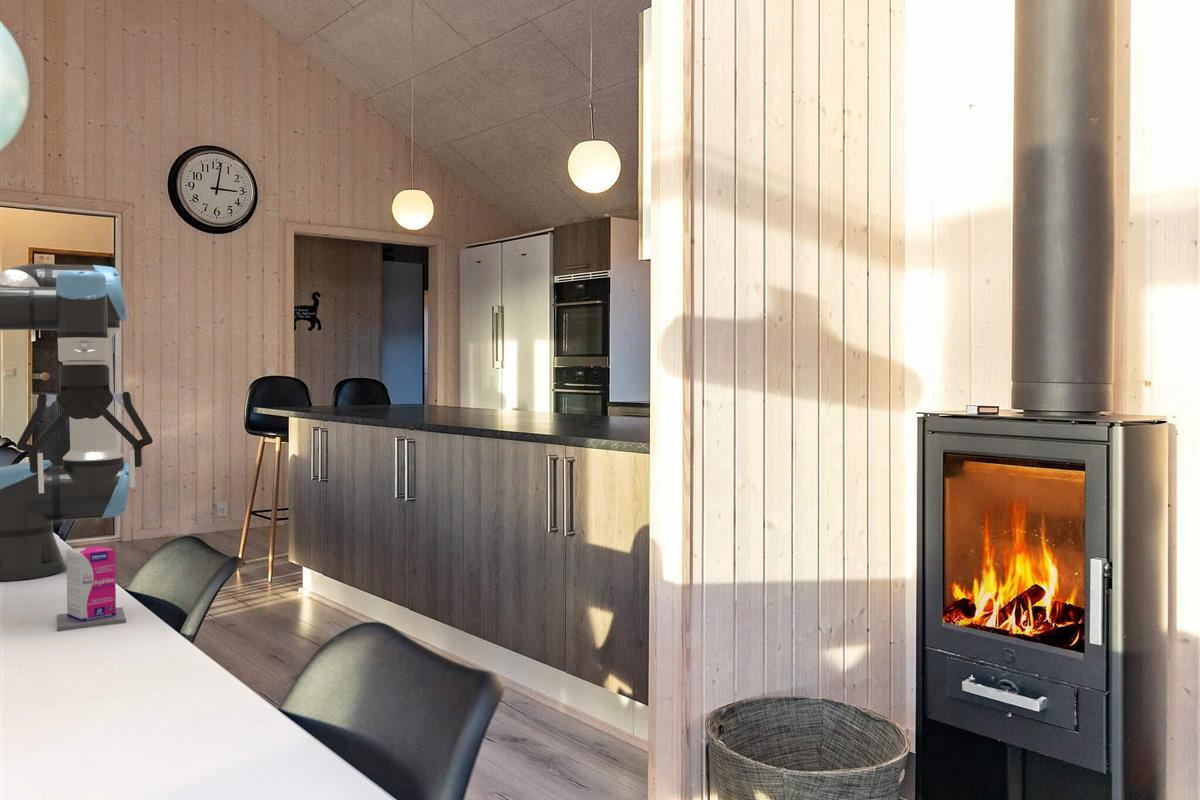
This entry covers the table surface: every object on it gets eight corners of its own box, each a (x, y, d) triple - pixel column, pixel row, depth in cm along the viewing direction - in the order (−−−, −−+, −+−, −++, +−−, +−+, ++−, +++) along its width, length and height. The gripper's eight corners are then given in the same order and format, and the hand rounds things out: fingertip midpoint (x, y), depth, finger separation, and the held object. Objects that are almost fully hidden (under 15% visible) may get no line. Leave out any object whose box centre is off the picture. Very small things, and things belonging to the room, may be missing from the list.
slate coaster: (57, 617, 167) (56, 614, 167) (122, 610, 172) (122, 606, 172) (57, 631, 158) (57, 627, 158) (126, 622, 163) (125, 618, 163)
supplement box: (81, 622, 161) (79, 553, 160) (66, 617, 165) (64, 549, 164) (117, 615, 165) (115, 548, 165) (102, 610, 169) (100, 544, 169)
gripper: (-5, 364, 155) (0, 497, 156) (167, 362, 167) (170, 486, 168) (-3, 364, 162) (2, 492, 162) (162, 363, 174) (165, 482, 175)
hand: (87, 489), depth 165 cm, fingers open, 13 cm apart
